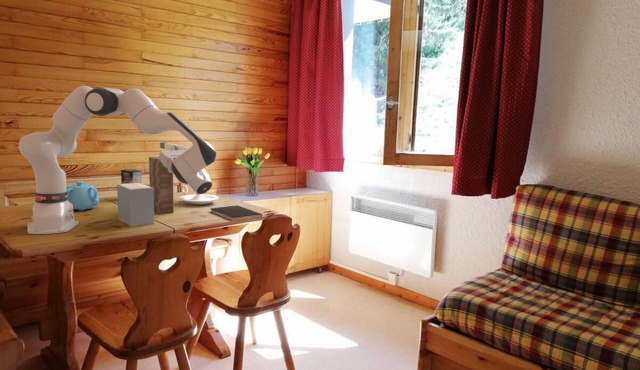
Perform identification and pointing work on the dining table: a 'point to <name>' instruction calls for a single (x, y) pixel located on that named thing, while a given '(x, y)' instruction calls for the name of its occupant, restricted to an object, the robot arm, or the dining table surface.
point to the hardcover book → (235, 212)
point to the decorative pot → (82, 196)
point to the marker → (169, 145)
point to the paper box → (135, 204)
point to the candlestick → (197, 197)
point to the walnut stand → (161, 186)
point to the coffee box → (130, 176)
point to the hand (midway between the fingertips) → (177, 146)
